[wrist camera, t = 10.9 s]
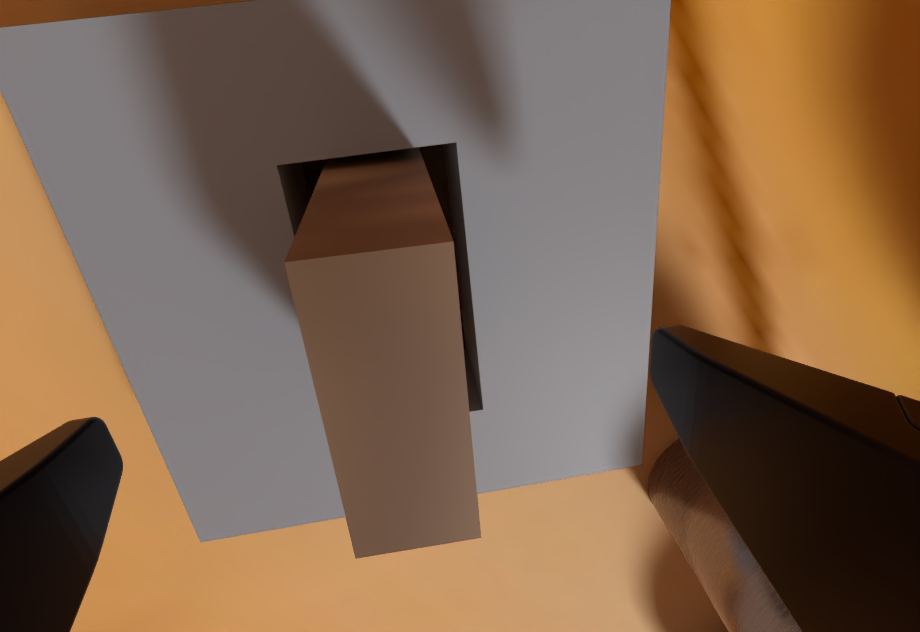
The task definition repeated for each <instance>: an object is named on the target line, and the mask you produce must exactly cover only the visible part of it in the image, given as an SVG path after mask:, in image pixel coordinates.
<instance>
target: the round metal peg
mask: <svg viewBox="0 0 920 632" xmlns="http://www.w3.org/2000/svg"><path fill="white" fill-rule="evenodd" d="M648 492H649V497H650V499H651V502H652V503H653V505H654V507H655V508H656V510H657V512H658V513H659V515H660V517H661V518H662V520H663V522H664V523H665V525H666V527H667V529H668V530H669V532H670V534H671V535H672V537H673V539H674V540H675V542H676V544H677V545H678V547H679V549H680V551H681V552H682V554H683V556H684V557H685V559H686V561H687V562H688V564H689V566H690V567H691V569H692V571H693V572H694V574H695V576H696V578H697V579H698V581H699V583H700V584H701V586H702V588H703V589H704V591H705V593H706V594H707V596H708V598H709V599H710V601H711V603H712V605H713V606H714V608H715V610H716V611H717V613H718V615H719V616H720V618H721V620H722V621H723V623H724V625H725V626H726V628H727V630H728V632H802V631H801V630H800V628H799V627H798V625H797V623H796V622H795V620H794V619H793V617H792V616H791V614H790V613H789V611H788V610H787V608H786V606H785V605H784V603H783V602H782V600H781V599H780V597H779V596H778V594H777V592H776V591H775V589H774V588H773V586H772V585H771V583H770V582H769V580H768V579H767V577H766V575H765V574H764V572H763V571H762V569H761V568H760V566H759V565H758V563H757V562H756V560H755V558H754V557H753V555H752V554H751V552H750V551H749V549H748V548H747V546H746V544H745V543H744V541H743V540H742V538H741V537H740V535H739V534H738V532H737V531H736V529H735V527H734V526H733V524H732V523H731V521H730V520H729V518H728V517H727V515H726V514H725V512H724V510H723V509H722V507H721V506H720V504H719V503H718V501H717V500H716V498H715V496H714V495H713V493H712V492H711V490H710V489H709V487H708V486H707V484H706V483H705V481H704V479H703V478H702V476H701V475H700V473H699V472H698V470H697V469H696V467H695V465H694V464H693V462H692V460H691V459H690V457H689V456H688V454H687V452H686V450H685V448H684V446H683V444H682V442H681V440H680V439H679V440H677V441H676V442H675V443H674V444H672V445H671V446H670V447H669V448H668V449H667V450H666V451H665V452H664V453H663V454H662V455H661V456H660V458H659V459H658V460H657V462H656V464H655V465H654V467H653V469H652V472H651V474H650V478H649V483H648Z"/></svg>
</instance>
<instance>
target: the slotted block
mask: <svg viewBox="0 0 920 632" xmlns="http://www.w3.org/2000/svg"><path fill="white" fill-rule="evenodd" d="M670 7H671V0H254V1H245V2H236V3H226V4H217V5H207V6H198V7H189V8H179V9H170V10H161V11H151V12H142V13H133V14H123V15H114V16H104V17H95V18H86V19H76V20H67V21H58V22H48V23H39V24H30V25H20V26H11V27H1V28H0V90H1V93H2V95H3V97H4V99H5V102H6V104H7V106H8V108H9V111H10V113H11V115H12V117H13V120H14V122H15V124H16V126H17V129H18V131H19V133H20V136H21V138H22V140H23V142H24V145H25V147H26V149H27V151H28V154H29V156H30V158H31V160H32V163H33V165H34V167H35V169H36V172H37V174H38V176H39V178H40V181H41V183H42V185H43V188H44V190H45V192H46V194H47V197H48V199H49V201H50V203H51V206H52V208H53V210H54V212H55V215H56V217H57V219H58V221H59V224H60V226H61V228H62V230H63V233H64V235H65V237H66V239H67V242H68V244H69V246H70V249H71V251H72V253H73V255H74V258H75V260H76V262H77V264H78V267H79V269H80V271H81V273H82V276H83V278H84V280H85V282H86V285H87V287H88V289H89V291H90V294H91V296H92V298H93V301H94V303H95V305H96V307H97V310H98V312H99V314H100V316H101V319H102V321H103V323H104V325H105V328H106V330H107V332H108V334H109V337H110V339H111V341H112V343H113V346H114V348H115V350H116V352H117V355H118V357H119V359H120V362H121V364H122V366H123V368H124V371H125V373H126V375H127V377H128V380H129V382H130V384H131V386H132V389H133V391H134V393H135V395H136V398H137V400H138V402H139V404H140V407H141V409H142V411H143V414H144V416H145V418H146V420H147V423H148V425H149V427H150V429H151V432H152V434H153V436H154V438H155V441H156V443H157V445H158V447H159V450H160V452H161V454H162V456H163V459H164V461H165V463H166V466H167V468H168V470H169V472H170V475H171V477H172V479H173V481H174V484H175V486H176V488H177V490H178V493H179V495H180V497H181V499H182V502H183V504H184V506H185V508H186V511H187V513H188V515H189V517H190V520H191V522H192V524H193V527H194V529H195V531H196V533H197V536H198V538H199V540H200V542H206V541H211V540H217V539H223V538H228V537H234V536H240V535H246V534H251V533H257V532H263V531H268V530H274V529H280V528H286V527H291V526H297V525H303V524H308V523H314V522H320V521H326V520H331V519H337V518H343V517H346V516H345V512H344V508H343V504H342V500H341V496H340V491H339V487H338V483H337V479H336V475H335V471H334V467H333V462H332V458H331V454H330V450H329V446H328V442H327V438H326V433H325V429H324V425H323V421H322V417H321V413H320V409H319V404H318V400H317V396H316V392H315V388H314V384H313V380H312V376H311V371H310V367H309V363H308V359H307V355H306V351H305V347H304V342H303V338H302V334H301V330H300V326H299V322H298V318H297V313H296V309H295V305H294V301H293V297H292V293H291V289H290V284H289V280H288V276H287V272H286V268H285V264H284V262H285V259H286V257H287V254H288V252H289V249H290V247H291V245H292V242H293V240H294V237H295V235H296V233H297V230H298V228H299V225H300V223H301V220H302V218H303V216H304V213H305V211H306V208H307V206H308V203H309V201H310V198H309V193H308V189H307V185H306V180H305V176H304V171H303V167H302V163H301V162H307V161H315V160H322V159H330V158H338V157H346V156H353V155H361V154H369V153H377V152H385V151H392V150H400V149H408V148H416V147H424V146H431V145H439V144H443V146H444V155H445V164H446V173H447V182H448V191H449V200H450V209H451V218H452V227H453V236H454V245H455V254H456V263H457V272H458V281H459V290H460V299H461V308H462V317H463V326H464V335H465V344H466V350H464V359H465V370H466V381H467V391H468V402H469V413H470V424H471V434H472V445H473V456H474V467H475V477H476V488H477V494H480V493H486V492H491V491H497V490H503V489H508V488H514V487H520V486H526V485H531V484H537V483H543V482H549V481H554V480H560V479H566V478H571V477H577V476H583V475H589V474H594V473H600V472H606V471H611V470H617V469H623V468H629V467H634V466H640V465H642V458H643V442H644V426H645V410H646V394H647V378H648V361H649V345H650V329H651V313H652V297H653V281H654V265H655V249H656V232H657V216H658V200H659V184H660V168H661V152H662V136H663V120H664V103H665V87H666V71H667V55H668V39H669V23H670Z"/></svg>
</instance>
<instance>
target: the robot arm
mask: <svg viewBox="0 0 920 632" xmlns="http://www.w3.org/2000/svg"><path fill="white" fill-rule="evenodd" d="M650 375H651V380H652V383H653V385H654V387H655V389H656V391H657V393H658V395H659V397H660V399H661V402H662V404H663V406H664V408H665V410H666V412H667V414H668V416H669V418H670V420H671V422H672V424H673V426H674V428H675V430H676V432H677V434H678V436H679V438H680V440H681V442H682V444H683V446H684V448H685V450H686V452H687V454H688V456H689V457H690V459H691V460H692V462H693V464H694V465H695V467H696V469H697V470H698V472H699V473H700V475H701V476H702V478H703V479H704V481H705V483H706V484H707V486H708V487H709V489H710V490H711V492H712V493H713V495H714V496H715V498H716V500H717V501H718V503H719V504H720V506H721V507H722V509H723V510H724V512H725V514H726V515H727V517H728V518H729V520H730V521H731V523H732V524H733V526H734V527H735V529H736V531H737V532H738V534H739V535H740V537H741V538H742V540H743V541H744V543H745V544H746V546H747V548H748V549H749V551H750V552H751V554H752V555H753V557H754V558H755V560H756V562H757V563H758V565H759V566H760V568H761V569H762V571H763V572H764V574H765V575H766V577H767V579H768V580H769V582H770V583H771V585H772V586H773V588H774V589H775V591H776V592H777V594H778V596H779V597H780V599H781V600H782V602H783V603H784V605H785V606H786V608H787V610H788V611H789V613H790V614H791V616H792V617H793V619H794V620H795V622H796V623H797V625H798V627H799V628H800V630H801V631H802V632H920V401H918V400H914V399H911V398H908V397H905V396H902V395H898V396H897V397H896V396H895V394H894V393H892V392H889V391H886V390H883V389H880V388H876V387H873V386H870V385H867V384H864V383H861V382H858V381H854V380H851V379H848V378H845V377H842V376H839V375H836V374H833V373H829V372H826V371H823V370H820V369H817V368H814V367H811V366H807V365H804V364H801V363H798V362H795V361H792V360H789V359H786V358H782V357H779V356H776V355H773V354H770V353H767V352H764V351H760V350H757V349H754V348H751V347H748V346H745V345H742V344H738V343H735V342H732V341H729V340H726V339H723V338H720V337H717V336H713V335H710V334H707V333H704V332H701V331H698V330H695V329H691V328H688V327H685V326H682V325H672V326H665V327H660V328H657V329H656V330H655V331H654V332H653V336H652V346H651V362H650ZM122 471H123V462H122V457H121V455H120V453H119V451H118V449H117V447H116V444H115V442H114V440H113V438H112V436H111V434H110V432H109V430H108V428H107V426H106V424H105V423H104V421H103V420H101V419H100V418H97V417H90V418H83V419H77V420H72V421H69V422H66V423H65V424H63V425H61V426H60V427H58V428H56V429H54V430H53V431H51V432H49V433H48V434H46V435H44V436H43V437H41V438H39V439H37V440H36V441H34V442H32V443H31V444H29V445H27V446H25V447H24V448H22V449H20V450H19V451H17V452H15V453H13V454H12V455H10V456H8V457H7V458H5V459H3V460H2V461H0V632H70V630H71V628H72V625H73V623H74V620H75V618H76V615H77V613H78V610H79V608H80V605H81V603H82V600H83V598H84V595H85V593H86V590H87V587H88V585H89V582H90V580H91V577H92V575H93V572H94V569H95V567H96V564H97V561H98V558H99V555H100V551H101V548H102V545H103V541H104V538H105V534H106V531H107V527H108V523H109V520H110V516H111V512H112V509H113V505H114V501H115V498H116V494H117V490H118V487H119V483H120V479H121V476H122Z"/></svg>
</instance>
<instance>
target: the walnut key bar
mask: <svg viewBox="0 0 920 632" xmlns="http://www.w3.org/2000/svg"><path fill="white" fill-rule="evenodd" d="M284 264H285V268H286V272H287V276H288V280H289V284H290V289H291V293H292V297H293V301H294V305H295V309H296V313H297V318H298V322H299V326H300V330H301V334H302V338H303V342H304V347H305V351H306V355H307V359H308V363H309V367H310V371H311V376H312V380H313V384H314V388H315V392H316V396H317V400H318V404H319V409H320V413H321V417H322V421H323V425H324V429H325V433H326V438H327V442H328V446H329V450H330V454H331V458H332V462H333V467H334V471H335V475H336V479H337V483H338V487H339V491H340V496H341V500H342V504H343V508H344V512H345V516H346V520H347V525H348V529H349V533H350V537H351V541H352V545H353V549H354V553H355V558H362V557H368V556H374V555H380V554H386V553H392V552H398V551H404V550H410V549H416V548H422V547H428V546H434V545H440V544H446V543H452V542H458V541H464V540H470V539H476V538H481V531H480V520H479V510H478V499H477V488H476V477H475V467H474V456H473V445H472V434H471V424H470V413H469V402H468V391H467V381H466V370H465V359H464V348H463V338H462V327H461V316H460V305H459V295H458V284H457V273H456V262H455V252H454V241H453V239H452V236H451V233H450V231H449V228H448V225H447V222H446V220H445V217H444V214H443V212H442V209H441V206H440V204H439V201H438V198H437V195H436V193H435V190H434V187H433V185H432V182H431V179H430V177H429V174H428V171H427V168H426V166H425V163H424V160H423V158H422V155H421V152H420V150H419V147H416V148H408V149H400V150H392V151H385V152H377V153H369V154H361V155H353V156H346V157H338V158H330V159H327V160H326V162H325V165H324V167H323V170H322V172H321V174H320V177H319V179H318V182H317V184H316V187H315V189H314V191H313V194H312V196H311V199H310V201H309V203H308V206H307V208H306V211H305V213H304V216H303V218H302V220H301V223H300V225H299V228H298V230H297V233H296V235H295V237H294V240H293V242H292V245H291V247H290V249H289V252H288V254H287V257H286V259H285V262H284Z"/></svg>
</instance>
